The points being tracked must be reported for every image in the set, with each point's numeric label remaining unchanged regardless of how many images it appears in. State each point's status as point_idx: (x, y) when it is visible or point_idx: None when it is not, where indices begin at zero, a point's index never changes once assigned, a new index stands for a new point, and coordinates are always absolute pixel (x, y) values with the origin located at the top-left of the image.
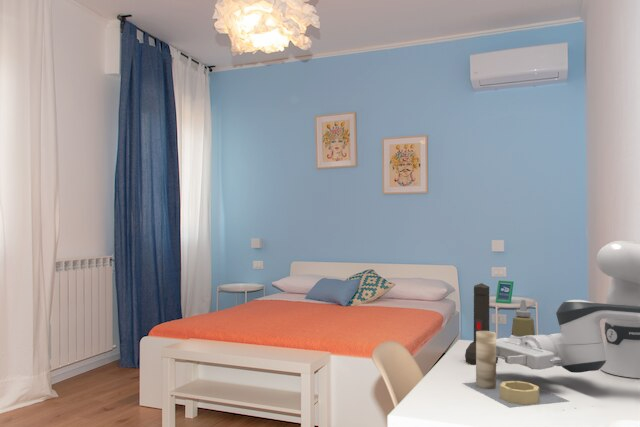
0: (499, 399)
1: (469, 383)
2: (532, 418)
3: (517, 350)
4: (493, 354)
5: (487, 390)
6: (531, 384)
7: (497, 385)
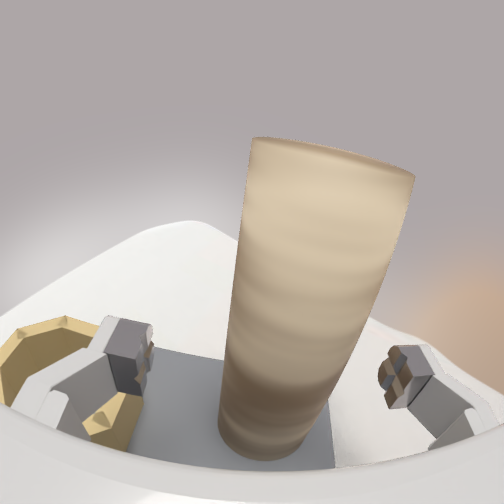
0: None
1: None
2: (4, 329)
3: (136, 460)
4: (233, 298)
5: (208, 390)
6: None
7: None
